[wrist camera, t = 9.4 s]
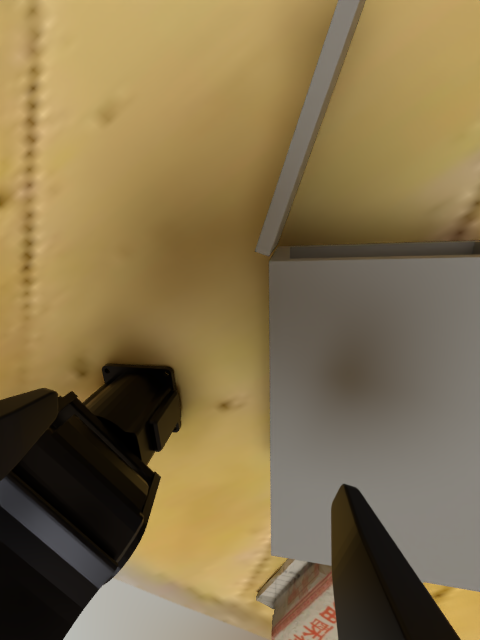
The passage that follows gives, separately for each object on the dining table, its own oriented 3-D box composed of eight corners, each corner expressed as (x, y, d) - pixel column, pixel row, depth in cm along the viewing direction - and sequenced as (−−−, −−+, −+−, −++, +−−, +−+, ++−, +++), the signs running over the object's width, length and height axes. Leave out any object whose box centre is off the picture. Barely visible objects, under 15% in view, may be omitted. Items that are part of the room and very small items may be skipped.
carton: (277, 453, 24) (271, 555, 17) (278, 246, 18) (269, 261, 11) (427, 469, 22) (496, 594, 14) (481, 240, 16) (643, 253, 9)
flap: (277, 243, 18) (256, 273, 7) (263, 238, 18) (221, 260, 7) (363, 6, 13) (652, -868, 3) (344, 0, 14) (550, -876, 3)
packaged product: (339, 692, 27) (250, 646, 27) (332, 626, 32) (256, 586, 32) (470, 616, 20) (351, 555, 21) (438, 545, 25) (341, 496, 25)
